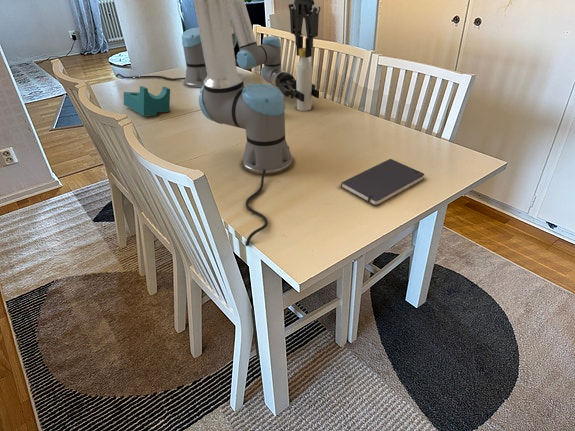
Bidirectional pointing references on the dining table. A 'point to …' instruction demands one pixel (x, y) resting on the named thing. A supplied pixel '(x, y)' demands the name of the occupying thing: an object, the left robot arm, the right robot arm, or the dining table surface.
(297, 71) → the bottle
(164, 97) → the teal notched cradle block
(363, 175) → the notebook
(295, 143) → the dining table surface
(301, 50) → the cap
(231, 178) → the dining table surface
